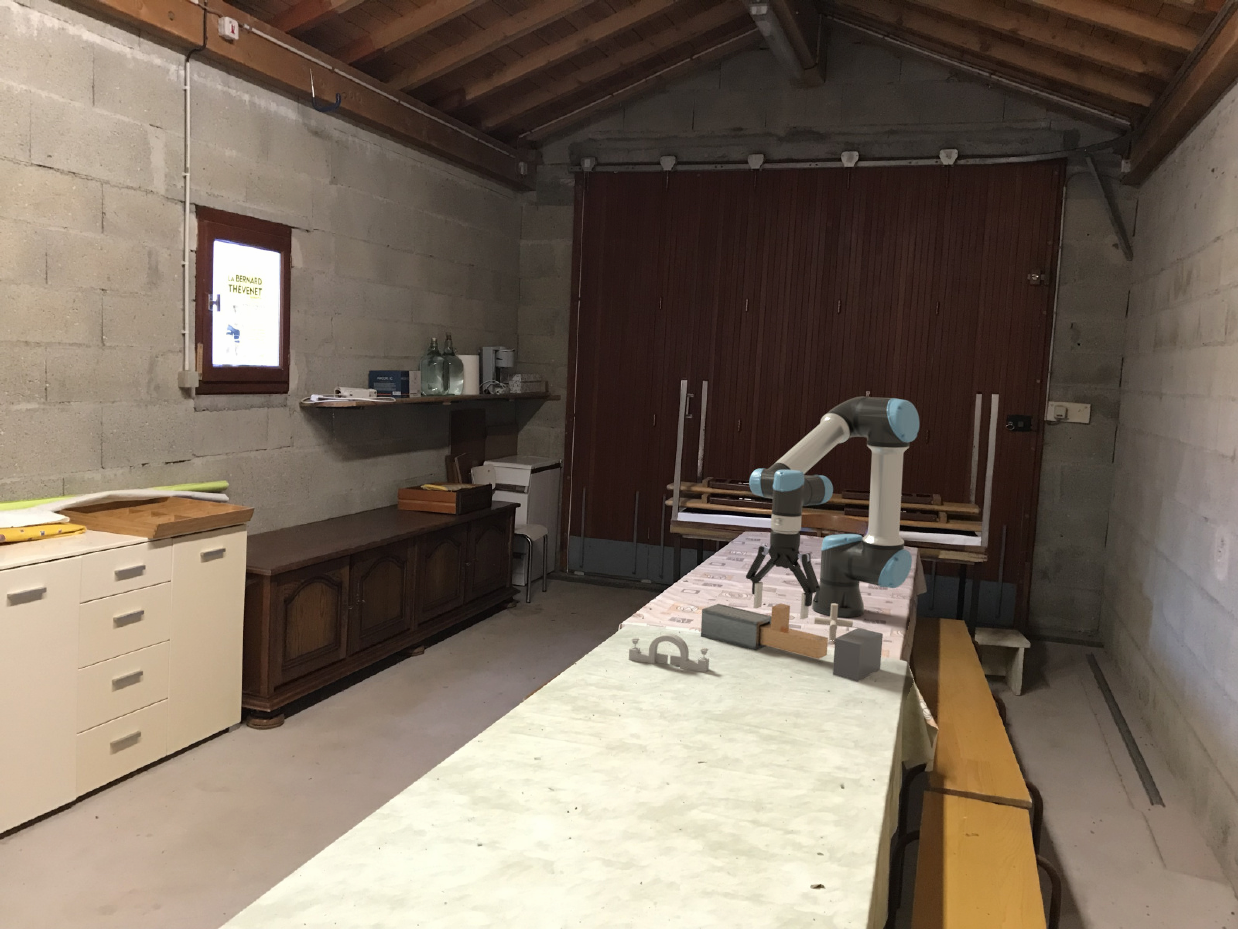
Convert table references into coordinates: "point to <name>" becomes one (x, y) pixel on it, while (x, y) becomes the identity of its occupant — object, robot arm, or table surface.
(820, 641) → the orange-brown sliding bolt
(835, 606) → the cream cross joint
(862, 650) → the socket block
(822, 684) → the table surface
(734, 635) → the sleeve
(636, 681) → the table surface
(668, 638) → the gateway
